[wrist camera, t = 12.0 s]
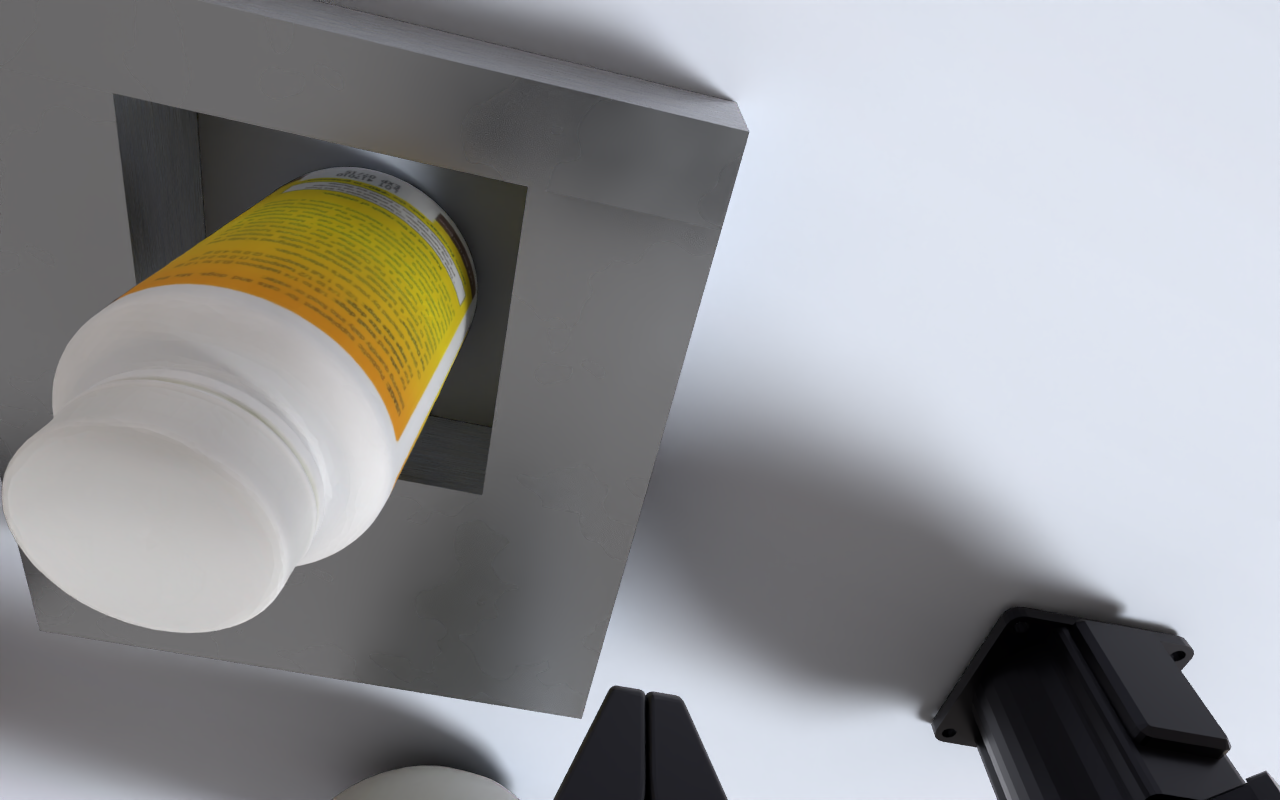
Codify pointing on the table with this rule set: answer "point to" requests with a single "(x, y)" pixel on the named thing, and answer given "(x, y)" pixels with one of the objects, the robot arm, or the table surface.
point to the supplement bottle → (245, 404)
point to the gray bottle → (426, 786)
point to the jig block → (446, 449)
